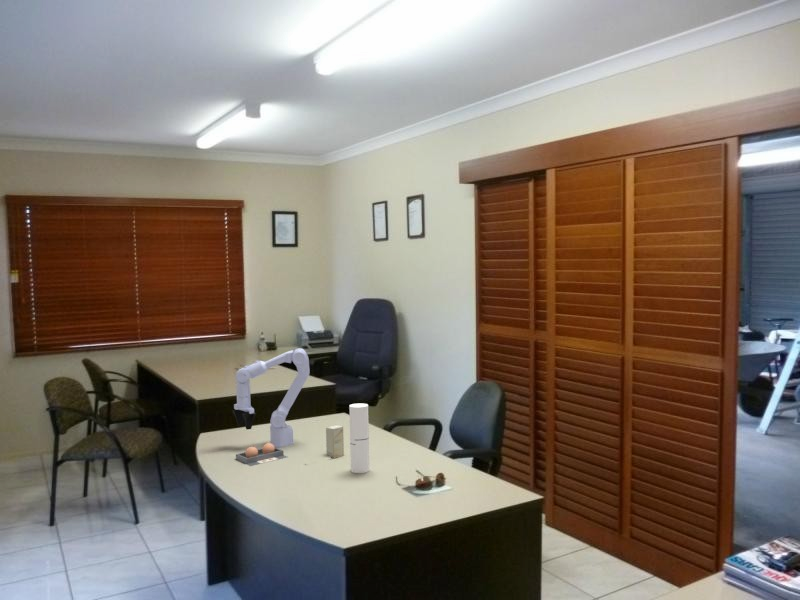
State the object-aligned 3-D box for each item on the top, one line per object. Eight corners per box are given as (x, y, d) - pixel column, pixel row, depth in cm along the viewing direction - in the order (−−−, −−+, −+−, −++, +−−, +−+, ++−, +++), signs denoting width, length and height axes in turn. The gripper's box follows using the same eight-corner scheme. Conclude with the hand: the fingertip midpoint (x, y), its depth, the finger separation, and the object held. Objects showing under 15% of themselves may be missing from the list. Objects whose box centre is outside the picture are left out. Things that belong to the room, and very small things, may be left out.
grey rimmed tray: (272, 452, 269) (272, 445, 269) (288, 459, 259) (288, 452, 259) (235, 461, 258) (234, 454, 258) (250, 468, 248) (250, 461, 248)
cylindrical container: (366, 473, 239) (365, 407, 238) (348, 472, 241) (347, 407, 240) (371, 467, 246) (370, 403, 245) (353, 466, 248) (352, 403, 247)
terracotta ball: (254, 456, 261) (254, 444, 260) (260, 458, 257) (260, 446, 257) (243, 459, 257) (242, 447, 257) (249, 461, 254) (248, 449, 253)
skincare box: (334, 458, 259) (333, 429, 258) (326, 457, 262) (325, 427, 261) (344, 455, 264) (343, 426, 263) (336, 453, 267) (335, 424, 266)
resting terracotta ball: (271, 452, 266) (270, 440, 265) (277, 455, 262) (276, 443, 262) (260, 455, 262) (259, 443, 262) (266, 457, 259) (265, 445, 258)
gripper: (227, 395, 277) (228, 426, 278) (243, 400, 266) (244, 432, 267) (242, 393, 282) (243, 423, 282) (258, 397, 271) (259, 429, 271)
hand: (244, 427), depth 275 cm, fingers open, 7 cm apart
